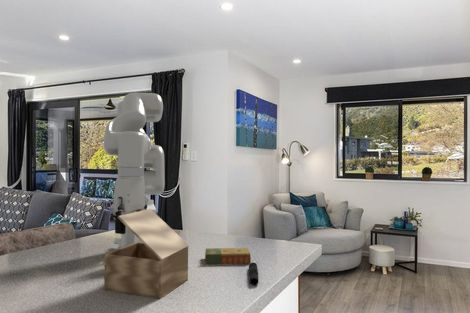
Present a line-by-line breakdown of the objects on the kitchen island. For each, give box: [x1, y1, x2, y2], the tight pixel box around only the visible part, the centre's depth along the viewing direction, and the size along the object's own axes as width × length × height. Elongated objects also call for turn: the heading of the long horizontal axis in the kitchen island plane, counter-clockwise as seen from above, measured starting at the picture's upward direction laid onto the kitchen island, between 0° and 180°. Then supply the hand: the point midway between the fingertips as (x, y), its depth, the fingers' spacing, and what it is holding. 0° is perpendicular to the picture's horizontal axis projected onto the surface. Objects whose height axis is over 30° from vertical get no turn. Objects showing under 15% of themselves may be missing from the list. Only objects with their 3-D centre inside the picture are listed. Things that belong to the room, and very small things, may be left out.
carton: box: [204, 247, 252, 265], centre depth 134 cm, size 8×16×4 cm, turn 94°
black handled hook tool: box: [248, 260, 260, 286], centre depth 119 cm, size 22×4×3 cm, turn 178°
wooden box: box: [103, 242, 189, 300], centre depth 109 cm, size 18×16×10 cm
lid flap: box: [118, 209, 190, 260], centre depth 108 cm, size 17×16×1 cm
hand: (130, 230), depth 111 cm, fingers open, 9 cm apart
